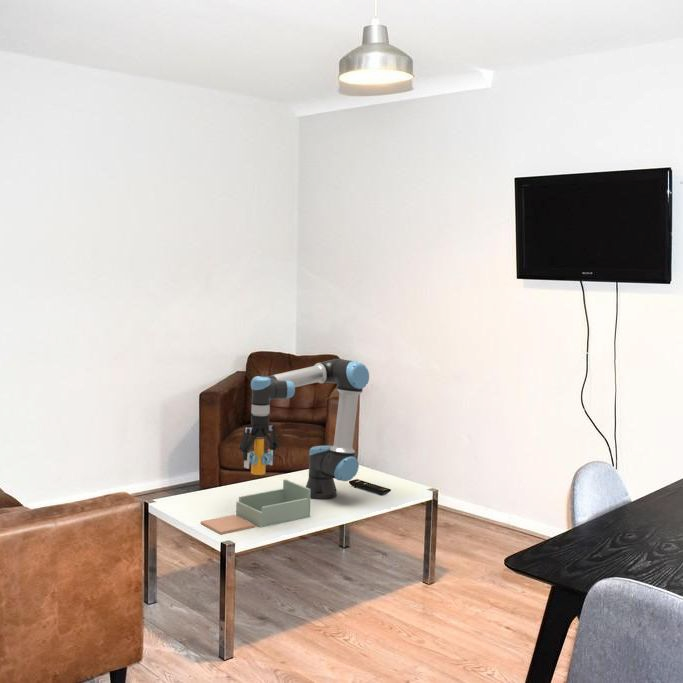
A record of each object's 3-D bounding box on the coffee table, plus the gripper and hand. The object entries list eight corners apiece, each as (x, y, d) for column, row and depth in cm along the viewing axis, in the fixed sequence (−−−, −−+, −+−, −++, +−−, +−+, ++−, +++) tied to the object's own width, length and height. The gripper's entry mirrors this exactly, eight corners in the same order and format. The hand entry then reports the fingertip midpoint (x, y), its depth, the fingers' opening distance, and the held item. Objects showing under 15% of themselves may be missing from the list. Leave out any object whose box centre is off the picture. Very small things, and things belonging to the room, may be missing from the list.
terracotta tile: (234, 517, 346) (234, 514, 346) (254, 527, 334) (254, 524, 334) (200, 523, 336) (200, 521, 336) (220, 534, 324) (220, 532, 324)
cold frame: (284, 505, 364) (285, 479, 363) (309, 516, 350) (310, 489, 349) (236, 515, 348) (236, 488, 347) (260, 527, 334) (260, 498, 333)
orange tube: (245, 477, 335) (246, 441, 334) (241, 470, 345) (242, 435, 344) (274, 476, 339) (276, 440, 337) (270, 470, 349) (271, 435, 347)
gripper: (278, 410, 350) (276, 461, 352) (231, 415, 335) (229, 467, 337) (288, 413, 344) (286, 464, 346) (241, 418, 329) (239, 471, 331)
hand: (258, 466), depth 342 cm, fingers closed on orange tube, 11 cm apart
